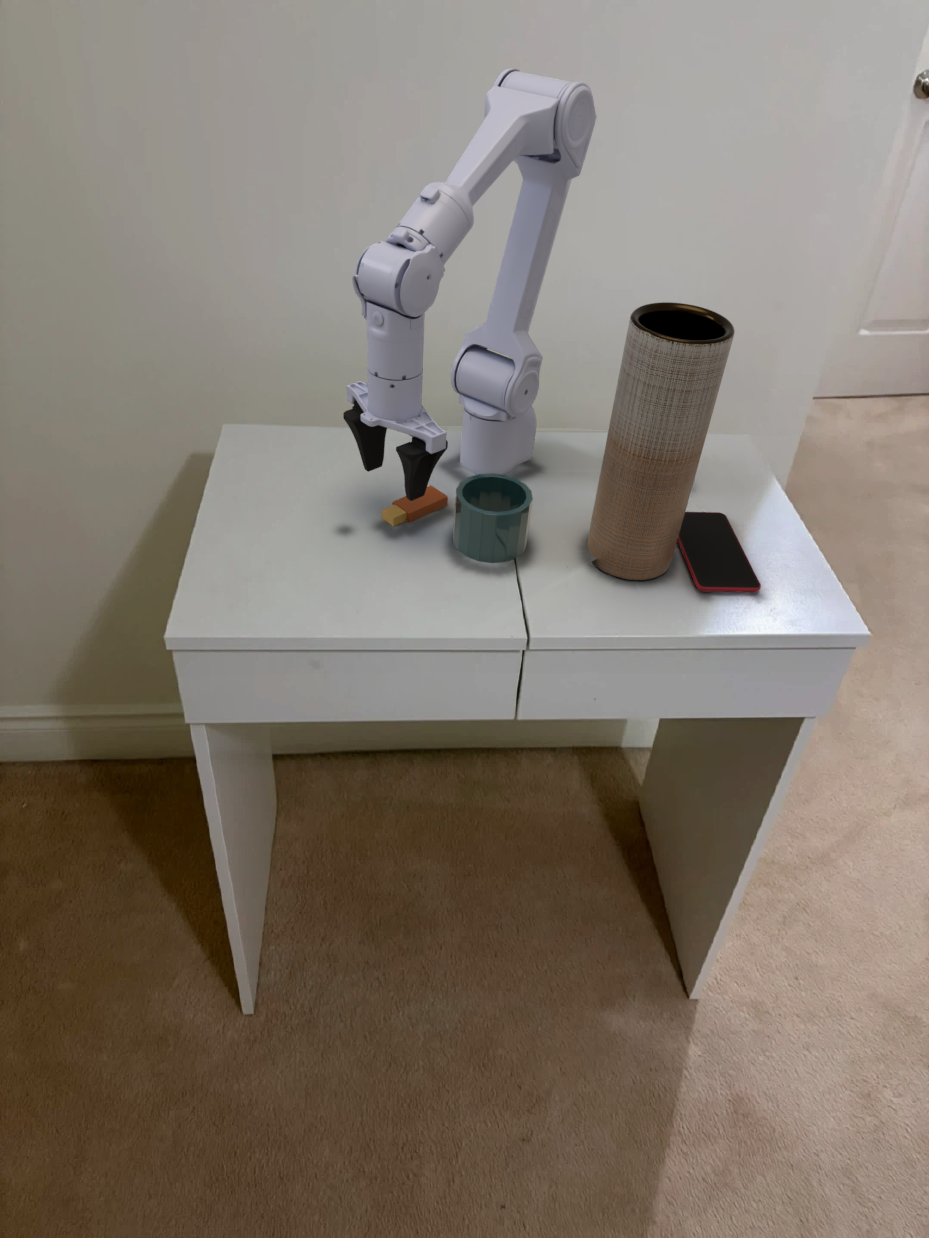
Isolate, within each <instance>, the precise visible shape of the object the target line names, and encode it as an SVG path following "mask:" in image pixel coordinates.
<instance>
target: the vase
mask: <svg viewBox="0 0 929 1238" xmlns="http://www.w3.org/2000/svg"><path fill="white" fill-rule="evenodd" d="M735 332H736V331H735V327H734V324H733V323H732V322H731V321H730V320H729V319H728V318H726V317H725V316H723V315H722V314H720V313H718V312H716V311H713V310H711V309H709V308H705V307H702V306H698V305H693V304H688V303H682V302H668V301H666V302H665V301H664V302H653V303H647V304H643V305H641V306H639V307H637V308H636V309H634V310H633V311H632V313H630V316H629V321H628V325H627V332H626V337H625V341H624V346H623V352H622V358H621V363H620V368H619V373H618V379H617V384H616V389H615V394H614V400H613V404H612V409H611V416H610V420H609V424H608V425H609V426H608V430H607V436H606V441H605V447H604V451H603V452H604V453H603V457H602V461H601V468H600V473H599V477H598V478H599V479H598V483H597V488H596V494H595V498H594V504H593V509H592V515H591V519H590V525H589V526H590V527H589V530H588V534H587V535H588V536H587V543H586V544H587V549H588V551H589V553H590V554H591V555H592V556H593V557H594V558H595V559H594V560H592V561H591V563H592V564H593V565H594V566H595V567H597V568H598V569H599V570H600V571H602V572H604V573H606V574H608V575H610V576H612V577H615V578H619V579H622V580H627V581H629V580H630V581H647V580H651V579H655V578H658V577H659V576H661V575H663V574H665V573H666V572H667V571H668V569H669V568H670V566H671V564H672V561H673V558H674V554H675V551H676V547H677V544H678V541H677V540H678V536H679V533H680V529H681V526H682V522H683V518H684V515H685V512H687V507H688V503H689V499H690V496H691V493H692V489H693V486H694V481H695V479H696V475H697V472H698V467H699V463H700V460H701V457H702V453H703V449H704V446H705V443H706V438H707V435H708V430H709V427H710V424H711V420H712V417H713V413H714V410H715V405H716V403H717V398H718V395H719V391H720V388H721V384H722V381H723V380H722V379H723V378H724V377H723V376H724V373H725V369H726V367H727V362H728V358H729V356H730V351H731V348H732V344H733V341H734V337H735Z"/></svg>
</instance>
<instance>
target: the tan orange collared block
mask: <svg viewBox="0 0 929 1238" xmlns="http://www.w3.org/2000/svg"><path fill="white" fill-rule="evenodd" d="M448 502H449V496H448V495H446V494H445V493H443V492H442V491H440V490H439V489H437V488H436V487H434V486H433V485H427V488H426V491H425V494H424V496H422V497H420V498H417V499H415V500H413V501H410V500H408V499H407V497H406V495H405V496H402V497H400V498H398V499H395V500H393V501H392V505H390V506H387V507H385V508H383V509H381V519H382V520H384V521H385V522H387V523H388V524H389V525H391V526H392V527H395V526H397V525H400V524H402V523H404V522H408V523H412V522H413V521H417V520H418V519H421V518H423V517H425V516H427V515H429V514H431V513H433V512H436V511H438V510H440V509H442V508H445V507H447V506H448Z"/></svg>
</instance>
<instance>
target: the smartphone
mask: <svg viewBox="0 0 929 1238" xmlns="http://www.w3.org/2000/svg"><path fill="white" fill-rule="evenodd" d="M677 544H678V546H679V548H680V550H681V553H682V555H683V557H684V560H685V563H686V565H687V568H688V570H689V573H690V575H691V578H692V580H693V582H694V585H695V588H696V589H697V590H699V591H701V592H704V593H707V592H708V593H757V592H759V591H760V590H761V587H762V585H761V583H760V580H759V578H758V577H757V575H756V572H755V571H754V570H755V569H753V567H752V565H751V562H750V560H749V558H748V556H747V554H746V552H745V551H744V548H743V546H742V545H741V542H740V540H739V539H738V537H737V534H736V533H735V530H734V528H733V526H732V525H731V521H730V520H729V518H728V516H727V515H726V514H725V513H722V512H720V511H719V512H718V511H717V512H714V511H713V512H712V511H685V515H684V518H683V522H682V526H681V529H680V533H679V536H678V540H677Z"/></svg>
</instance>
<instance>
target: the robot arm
mask: <svg viewBox="0 0 929 1238" xmlns="http://www.w3.org/2000/svg"><path fill="white" fill-rule="evenodd" d="M596 113H597V112H596V107H595V101H594V95H593V93H592V90H591V87H590V86H589V85H588V84H587V83H586V82H584V81H580V80H576V81H572V80H571V81H570V80H566V79H562V78H561V79H560V78H555V77H550V76H544V75H540V74H535V73H530V72H525V71H521V70H520V69H517V68H513V67H510V68H507V69H504V70H503V71H502V72H501V73H500V74H499V75H498V77H497V78H496V80H495V81H494V83H493V85H492V87H491V88H490V89H489V90H488V91H487V92H486V95H485V102H484V113H483V115H484V116H483V117H484V119H483V121H482V123H481V124H480V125H479V127H478V129H477V131H476V132H475V133H474V134H473V135H474V136H473V137H472V138H471V140H470V142H469V143H468V145H467V146H466V148H465V149H464V152H463V153H462V155H461V156H460V158H459V159H458V161H457V162H456V164H455V165H454V167H453V168H452V170H451V172H450V174H449V175H448V177H447V178H446V180H445V181H443V182H441V181H435V182H430V183H429V184H427V185H426V186H424V188H423V189H422V191H421V192H420V193H419V195H418V197H417V198H416V200H415V201H414V202H413V203H412V205H411V206H410V208H408V210H407V211H406V213H405V214H404V215H403V216H402V218H401V219H400V220H399V222H398V223H397V224H396V226H395V227H394V229H392V230H391V232H390V234H389V235H388V236H387V238H386V239H385V240H379V241H378V242H374V243H373V244H371V245H369V246H367V247H366V248H365V249H364V250H363V251H362V253H360V256H359V258H358V260H357V262H356V267H355V273H354V275H352V277H351V281H352V288H353V290H354V292H355V294H356V296H357V297H358V298H359V301H360V305H361V315H362V316H363V318H364V320H365V321H366V363H367V367H366V369H367V383H365V382H364V381H362V380H359V381H355V382H353V383H350V384H347V385H346V401H347V402H348V403H350V404H352V407H351V408H350V409H347V410H345V411H344V412H343V416H342V417H343V421H345V423H346V424H347V426H348V428H349V429H350V431H351V433H352V435H353V437H354V441H355V443H356V445H357V448H358V452H359V455H360V459H361V462H362V465H363V468H364V470H365V471H366V472H367V473H368V472H372V471H373V470H376V469H379V468H381V467H383V464H384V459H385V444H386V436H387V431H388V429H390V430H392V431H396V432H399V433H402V434H405V435H408V436H410V437H411V441H409V442H406V443H403V444H400V445H398V446H396V447H395V452H396V454H397V455H398V457H399V460H400V463H401V466H402V471H403V476H404V477H403V479H404V492H405V496H406V497H407V499H408V500H410V501H413V500H415V499H417V498H420V497H422V496H424V494H425V491H426V488H427V487H428V486H429V485H428V484H429V482H430V480H431V476H432V474H433V472H434V469H435V468H436V466H437V464H438V462H439V461H440V459H441V457H443V455H444V453H445V452H446V451H447V450H448V448H449V442H448V440H447V431H446V430H444V429H443V428H441V427H440V426H439V425H438V424H437V422H436V421H435V420H434V419H433V417H432V416H431V415H430V414H429V412H428V410H426V408H425V406H424V405H423V380H424V378H423V377H424V349H425V348H424V343H425V320H426V319H425V318H426V317H425V315H426V312H427V311H428V310H429V309H430V308H431V307H432V306H433V304H434V303H435V301H436V299H437V295H438V292H439V288H440V283H441V281H442V278H443V277H444V275H445V274H444V273H445V272H446V268H445V265H446V263H447V262H448V261H449V259H450V258H451V257H452V255H453V254H454V252H455V251H456V250H457V248H458V247H459V246H460V245H461V243H462V242H463V240H464V239H465V237H467V235H468V233H469V232H470V231H471V230H472V228H473V226H474V224H475V217H474V209H473V207H474V205H475V204H476V203H477V202H478V201H479V200H480V199H481V198H482V196H483V195H484V194H485V193H486V192H487V191H488V189H490V187H491V186H492V185H493V184H494V183H495V182H496V180H498V178H500V176H501V175H502V174H503V173H504V171H506V169H507V168H508V167H509V166H510V165H511V163H513V162H514V163H515V164H516V165H517V166H518V169H519V172H520V174H521V177H522V183H521V185H520V190H519V193H518V198H517V201H516V205H515V208H514V209H515V210H514V213H513V217H512V221H511V225H510V228H509V232H508V237H507V240H506V244H505V247H504V252H503V255H502V258H501V262H500V266H499V271H498V274H497V278H496V282H495V286H494V289H493V292H492V297H491V301H490V304H489V308H488V312H487V316H486V320H485V322H484V323H483V324H481V325H478V326H477V327H474V328H472V329H471V330H469V331H467V332H466V333H465V334H464V338H463V341H462V344H461V347H460V348H459V351H458V352H457V354H456V356H455V358H454V360H453V362H452V364H451V368H450V385H451V388H452V390H453V391H454V392H455V393H456V394H458V403H459V404H461V405H462V419H461V435H460V451H459V463H460V466H462V468H464V469H465V470H466V471H468V472H470V473H473V474H474V475H478V474H492V473H493V474H502V475H506V474H507V473H509V472H511V471H512V470H513V469H514V468H515V467H517V466H519V465H520V464H524V463H525V462H528V461H530V460H531V459H533V455H534V449H535V448H534V447H535V440H536V432H537V415H536V412H535V408H534V406H533V404H534V402H535V401H536V398H537V395H538V392H539V388H540V372H541V367H542V363H543V355H542V353H541V352H540V350H539V349H538V347H537V345H536V344H535V343H534V341H533V339H532V337H531V336H530V333H529V332H530V328H531V324H532V321H533V317H534V313H535V310H536V306H537V303H538V300H539V296H540V292H541V288H542V286H543V281H544V278H545V275H546V271H547V269H548V268H547V267H548V264H549V260H550V257H551V254H552V250H553V246H554V242H555V239H556V236H557V232H558V228H559V225H560V221H561V218H562V215H563V212H564V208H565V204H566V201H567V198H568V193H569V190H570V187H571V183H572V180H573V179H576V178H578V177H579V176H580V175H581V173H582V169H583V165H584V162H585V159H586V156H587V152H588V149H589V146H590V142H591V139H592V135H593V133H594V130H595V129H594V128H595V125H596V120H597V114H596Z"/></svg>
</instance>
